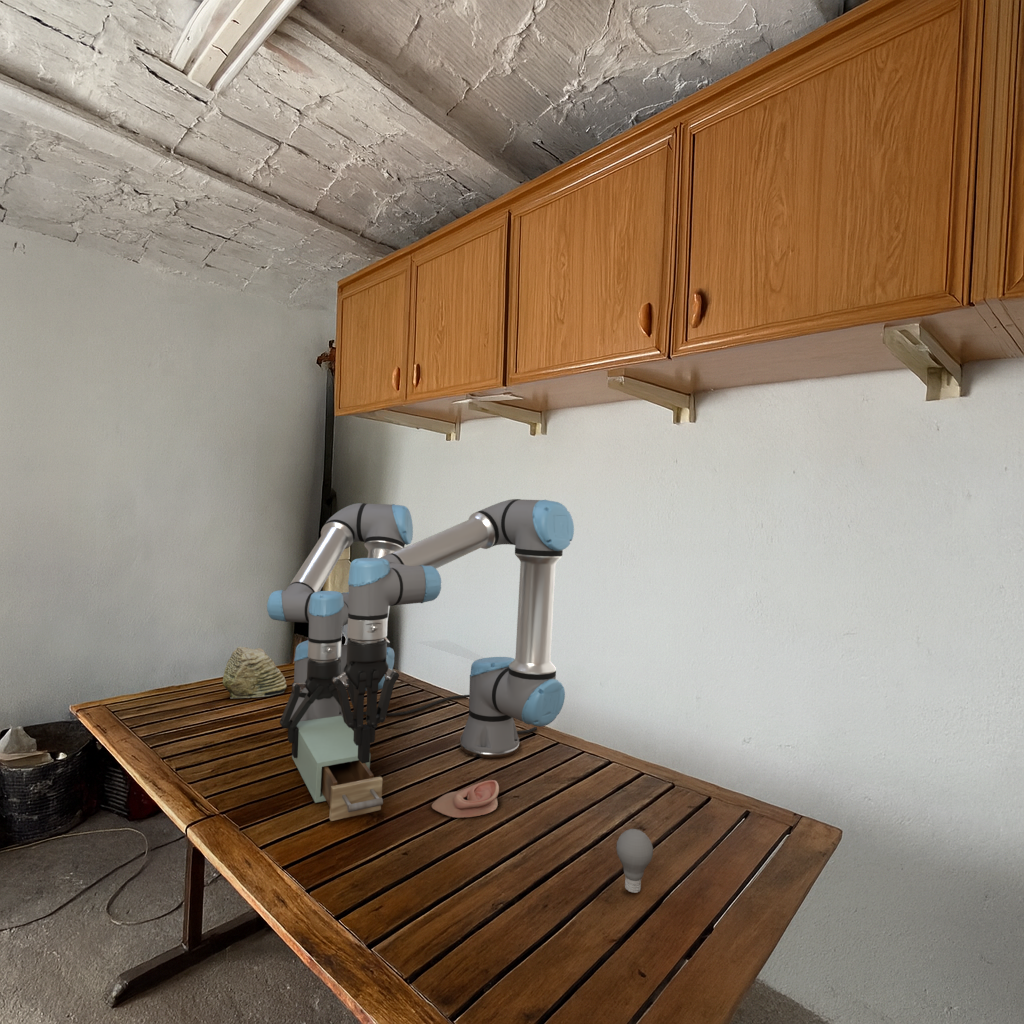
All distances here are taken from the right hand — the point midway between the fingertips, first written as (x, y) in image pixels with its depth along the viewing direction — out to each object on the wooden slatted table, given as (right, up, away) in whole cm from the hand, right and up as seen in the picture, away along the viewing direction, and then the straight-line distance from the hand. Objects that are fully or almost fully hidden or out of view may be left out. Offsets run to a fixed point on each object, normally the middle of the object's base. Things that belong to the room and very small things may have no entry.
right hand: (363, 760), depth 122 cm
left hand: (-16, -8, +26) cm, 31 cm away
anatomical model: (+19, -14, +10) cm, 25 cm away
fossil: (-52, -9, +76) cm, 92 cm away
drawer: (-6, -11, +9) cm, 16 cm away
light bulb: (+49, -15, -17) cm, 54 cm away
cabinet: (-13, -11, +20) cm, 26 cm away
